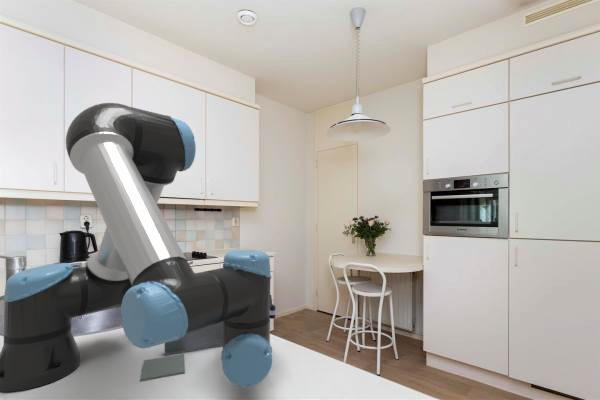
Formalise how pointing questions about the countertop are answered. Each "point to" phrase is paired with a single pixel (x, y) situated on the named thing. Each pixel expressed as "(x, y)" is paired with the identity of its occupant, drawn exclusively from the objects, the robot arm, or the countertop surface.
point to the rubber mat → (162, 367)
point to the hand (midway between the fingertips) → (242, 292)
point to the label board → (197, 340)
